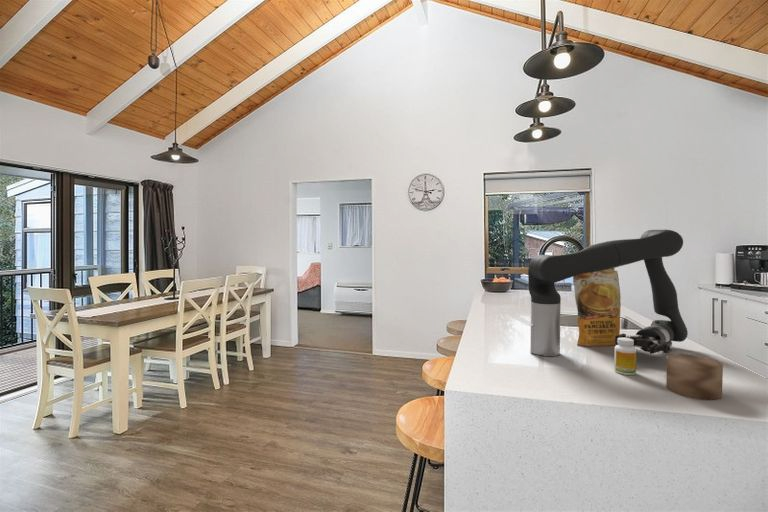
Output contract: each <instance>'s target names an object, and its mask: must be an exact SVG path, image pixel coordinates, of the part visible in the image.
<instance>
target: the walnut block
mask: <svg viewBox="0 0 768 512" xmlns="http://www.w3.org/2000/svg"><path fill="white" fill-rule="evenodd" d="M723 373H724V364H723V363H722V362H721V361H719V360H716V359H713V358H710V357H705V356H701V355H695V354H688V353H687V354H686V353H672V354H668V355H667V356H666V376H665V377H666V378H665V379H666V381H665V382H666V383H665V384H666V385H665V387H666V389H667V390H668V391H670V392H672V393H673V394H676V395H679V396H682V397H686V398H690V399H695V400H702V401H719V400H721V399H722V398H723V381H724V380H723V377H724V376H723V375H724V374H723Z"/></svg>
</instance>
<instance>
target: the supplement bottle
mask: <svg viewBox="0 0 768 512" xmlns="http://www.w3.org/2000/svg"><path fill="white" fill-rule="evenodd" d="M617 342H618V345H616V346H614V354H613V355H614V361H613V363H614V364H613V370H614V372H616V373H617V374H621V375H625V376H634V375H636V373H637V347H633V345H634V340H633V339H630V338H618V340H617Z"/></svg>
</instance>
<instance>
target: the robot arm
mask: <svg viewBox="0 0 768 512" xmlns="http://www.w3.org/2000/svg"><path fill="white" fill-rule="evenodd" d="M683 246H684V239H683V237H682V235H681V234H679V232H677V231H675V230H671V229H650V230H649V229H648V230H647V231H644V232H643V233H642V234H641V236H640V237H639V238H627V239H617V240H616V239H614V240H609V241H604V242H599V243H595V244H591V245H590V246H587V247H585V248H583V249H582V250H580V251H578V252H573V253H567V254H557V255H556V254H554V255H551V254H538V255H535V256H533V257H532V258H531V260H530V262H529V265H528V270H527V272H528V274H527V275H528V276H527V277H528V292H529V295H530V354H535V355H538V356H542V355H543V356H545V357H556V356H559V355H560V354H561V307H562V306H561V304H562V303H561V294H560V293H559V292H558V290H557V289H556V285H555V283H558V282H561V281H564V280H567V279H570V278H573V276H576V275H579V274H584V273H591V272H597V271H602V270H607V269H611V268H615V269H616V268H619V267H622V266H626V265H630V264H633V263H637V262H640V261H641V262H642V261H643V262H644V264H645V268H646V269H645V270H646V272H647V276H648V278H649V282H650V288H651V293H652V294H651V295H652V303H653V304H652V305H653V309H654V313H655V314H657V315H659V316H663V317H666V318H667V319H669V320H665V319H664V320H662V319H657V320H656V319H655V320H653V321H652V322H651V324H650V325H648V326H647V327H644V328H641V329H640V330H637V332H636V333H635V334H634V335H627V334H626V333H621V334H619V335H617V336H615V344H616V345H618V342H617V340H618V338H630V339H633V340H634V345H633V347H635V348H639V349H640V350H642V351H644V352H647V353H649V354H651V355H654V354H656V353H658V354H659V353H661V352H662V353H663V354H669V353H670V352H671V351H672V350H673V342H676V343H679V342H680V343H681V342H684V341H685V340H686V339H687V338H688V333H689V332H688V328H687V326H686V324H685V321H684V318H682V314H681V311H680V309H679V301H678V294H677V289H676V287H675V284H674V283H673V280H672V279H671V278H670V276H669V274H668V272H667V270H666V269H665V266H664V262H663V258H665V257H666V258H667V257H672V256H674V255H676V254H677V253H679V252H680V251H681V249H682V248H683Z"/></svg>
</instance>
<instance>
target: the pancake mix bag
mask: <svg viewBox="0 0 768 512" xmlns="http://www.w3.org/2000/svg"><path fill="white" fill-rule="evenodd" d="M615 269H616V268H611V269H607V270H602V271H597V272H591V273H584V274H579V275H576V276H573V277H572V282H573V287H574V288H573V289H574V300H575V305H576V309H577V310H576V311H577V326H578V339H577V343H576V345H577V346H585V347H615V346H616V344H615V336H617V335H620V333H621V329H620V328H621V306H622V305H621V297H622V296H621V289H620V288H621V287H620V282H619V280H620V279H619V274H618V270H615Z"/></svg>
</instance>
